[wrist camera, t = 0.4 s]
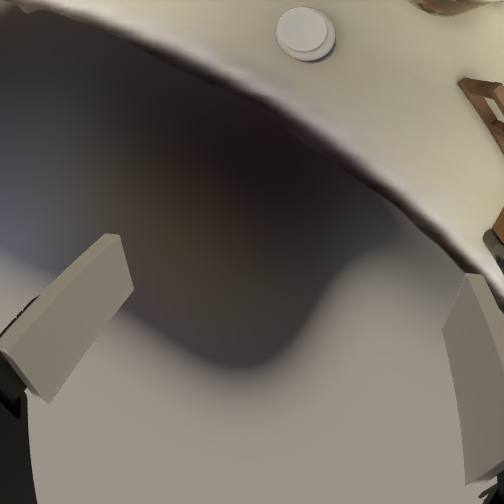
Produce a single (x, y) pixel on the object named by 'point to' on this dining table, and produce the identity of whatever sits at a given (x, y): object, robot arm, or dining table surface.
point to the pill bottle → (306, 34)
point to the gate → (489, 90)
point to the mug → (450, 6)
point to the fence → (496, 241)
